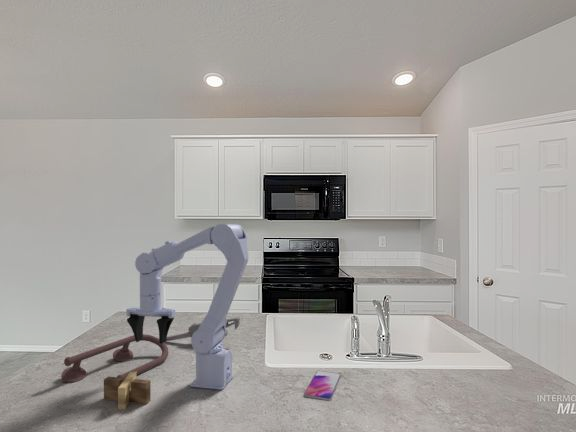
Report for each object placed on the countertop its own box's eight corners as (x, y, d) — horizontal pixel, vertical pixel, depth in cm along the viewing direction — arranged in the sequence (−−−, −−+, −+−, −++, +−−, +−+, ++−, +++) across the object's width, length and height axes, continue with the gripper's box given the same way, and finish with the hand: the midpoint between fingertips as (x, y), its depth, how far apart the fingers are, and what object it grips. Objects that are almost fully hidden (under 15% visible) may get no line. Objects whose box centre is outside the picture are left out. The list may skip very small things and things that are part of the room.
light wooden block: (130, 391, 90) (130, 371, 91) (136, 390, 91) (136, 371, 91) (118, 409, 82) (117, 388, 82) (125, 409, 82) (125, 387, 82)
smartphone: (341, 373, 99) (331, 399, 84) (341, 376, 99) (331, 402, 84) (317, 369, 101) (302, 394, 87) (316, 372, 101) (302, 397, 87)
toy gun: (241, 341, 123) (237, 313, 123) (159, 349, 127) (155, 322, 128) (242, 340, 124) (239, 312, 125) (161, 348, 129) (158, 321, 130)
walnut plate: (150, 400, 85) (150, 380, 86) (146, 404, 84) (146, 383, 84) (108, 396, 88) (108, 376, 88) (103, 399, 86) (103, 379, 86)
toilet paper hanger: (96, 390, 88) (60, 352, 95) (89, 413, 89) (54, 374, 97) (179, 352, 113) (145, 324, 121) (173, 370, 114) (140, 341, 122)
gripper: (180, 292, 102) (181, 338, 102) (137, 290, 105) (137, 335, 105) (167, 297, 95) (167, 347, 95) (121, 295, 98) (121, 343, 98)
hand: (150, 341), depth 99 cm, fingers open, 7 cm apart
